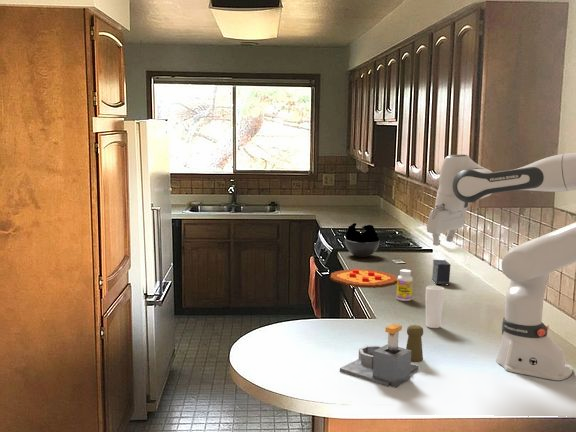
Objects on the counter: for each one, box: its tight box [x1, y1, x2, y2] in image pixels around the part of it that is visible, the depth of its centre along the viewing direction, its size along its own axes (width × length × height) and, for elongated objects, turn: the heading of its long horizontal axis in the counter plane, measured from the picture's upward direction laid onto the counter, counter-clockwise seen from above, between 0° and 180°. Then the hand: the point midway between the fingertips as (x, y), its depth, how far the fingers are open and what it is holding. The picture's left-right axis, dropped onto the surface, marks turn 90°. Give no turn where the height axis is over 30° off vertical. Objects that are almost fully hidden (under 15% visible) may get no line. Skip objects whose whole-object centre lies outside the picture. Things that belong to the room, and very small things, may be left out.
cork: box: [405, 324, 424, 363], centre depth 202 cm, size 6×6×11 cm
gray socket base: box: [339, 343, 419, 388], centre depth 192 cm, size 20×18×9 cm
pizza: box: [330, 268, 398, 288], centre depth 309 cm, size 32×32×3 cm
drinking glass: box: [424, 285, 445, 329], centre depth 236 cm, size 7×7×15 cm
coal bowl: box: [344, 222, 381, 258], centre depth 360 cm, size 20×20×19 cm
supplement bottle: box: [396, 268, 414, 302], centre depth 273 cm, size 7×7×13 cm
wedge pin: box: [385, 323, 403, 354], centre depth 184 cm, size 3×5×9 cm, turn 140°
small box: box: [431, 259, 451, 285], centre depth 304 cm, size 11×6×10 cm, turn 0°
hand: (442, 243), depth 210 cm, fingers open, 8 cm apart
